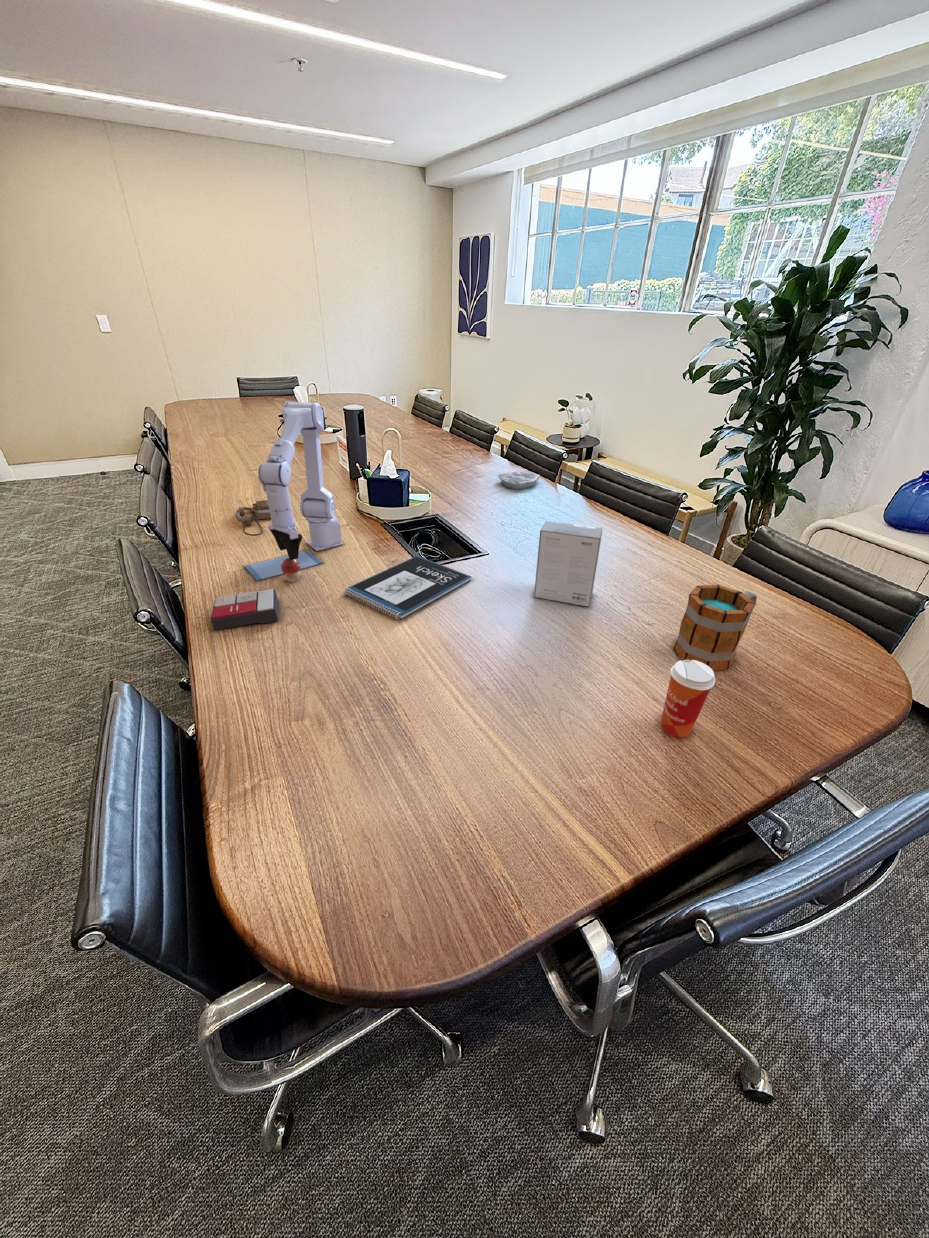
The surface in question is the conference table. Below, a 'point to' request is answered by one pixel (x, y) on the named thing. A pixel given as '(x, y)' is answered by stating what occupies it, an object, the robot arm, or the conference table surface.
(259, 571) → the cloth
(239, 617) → the grey and red box
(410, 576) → the sketchbook
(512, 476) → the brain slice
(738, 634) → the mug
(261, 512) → the telephone
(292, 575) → the mushroom
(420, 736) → the conference table surface
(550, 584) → the hard drive box
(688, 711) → the paper cup
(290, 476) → the robot arm
